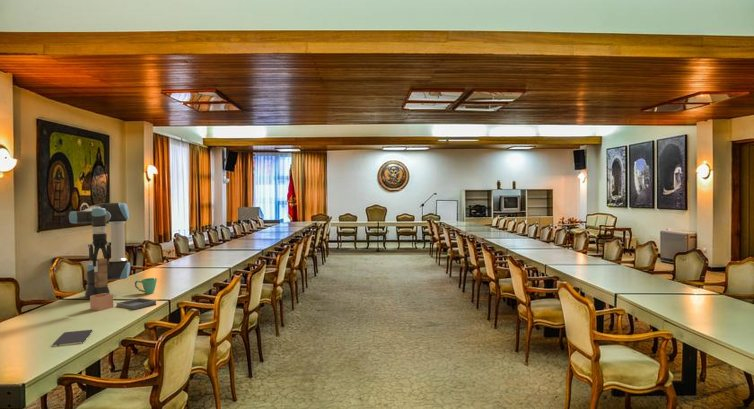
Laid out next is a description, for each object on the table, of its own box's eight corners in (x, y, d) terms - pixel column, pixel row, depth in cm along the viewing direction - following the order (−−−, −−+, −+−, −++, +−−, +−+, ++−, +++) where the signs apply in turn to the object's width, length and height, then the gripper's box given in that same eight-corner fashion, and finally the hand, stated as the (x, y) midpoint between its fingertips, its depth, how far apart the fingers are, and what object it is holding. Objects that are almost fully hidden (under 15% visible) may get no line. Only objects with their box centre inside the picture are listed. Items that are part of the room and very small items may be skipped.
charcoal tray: (116, 307, 304) (116, 303, 304) (140, 302, 318) (139, 297, 318) (132, 310, 297) (132, 305, 296) (156, 305, 311) (155, 300, 310)
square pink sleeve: (90, 310, 298) (89, 295, 298) (104, 307, 306) (104, 293, 306) (99, 312, 294) (98, 297, 294) (113, 308, 302) (113, 294, 302)
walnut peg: (94, 287, 299) (93, 259, 298) (102, 285, 303) (101, 258, 303) (99, 287, 297) (98, 260, 296) (107, 286, 301) (106, 258, 300)
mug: (158, 291, 353) (158, 277, 352) (155, 294, 343) (154, 280, 343) (137, 292, 350) (136, 278, 350) (132, 295, 340) (132, 281, 340)
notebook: (82, 344, 234) (92, 332, 254) (82, 341, 234) (92, 329, 254) (52, 347, 229) (64, 335, 249) (51, 344, 229) (64, 332, 249)
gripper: (88, 234, 289) (89, 273, 290) (117, 232, 305) (118, 269, 306) (81, 234, 293) (82, 272, 294) (110, 231, 308) (111, 268, 309)
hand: (100, 270), depth 300 cm, fingers closed on walnut peg, 5 cm apart
